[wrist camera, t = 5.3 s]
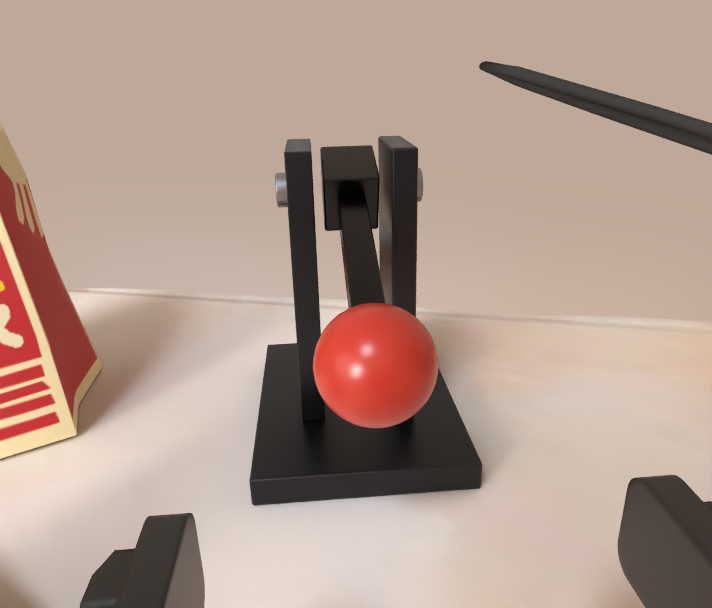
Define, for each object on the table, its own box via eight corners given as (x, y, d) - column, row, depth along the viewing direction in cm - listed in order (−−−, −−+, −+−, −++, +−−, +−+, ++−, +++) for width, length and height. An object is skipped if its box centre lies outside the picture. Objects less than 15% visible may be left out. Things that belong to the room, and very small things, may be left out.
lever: (442, 449, 17) (457, 364, 15) (317, 458, 17) (312, 373, 14) (385, 204, 27) (389, 130, 24) (307, 208, 27) (302, 133, 24)
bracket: (481, 488, 23) (503, 158, 18) (252, 506, 23) (214, 170, 18) (423, 354, 34) (428, 126, 30) (269, 363, 34) (248, 132, 29)
